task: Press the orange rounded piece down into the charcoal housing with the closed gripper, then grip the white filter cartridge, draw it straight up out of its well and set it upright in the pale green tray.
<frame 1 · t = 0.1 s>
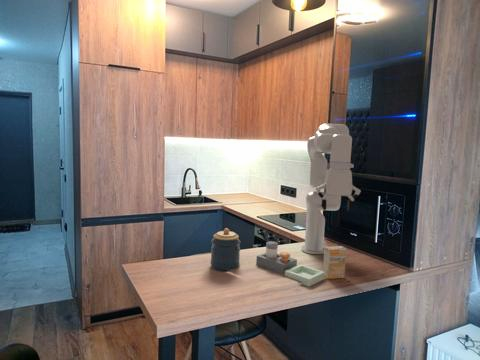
hand: (336, 209, 142), 31 cm above the countertop, tool pointing down, fingers open, 9 cm apart
supplement box: (333, 277, 155), on the countertop
housing: (276, 268, 162), on the countertop
cartridge: (270, 264, 164), point 1 cm above the countertop, touching housing
tray: (304, 278, 152), on the countertop
orange rounded piece: (284, 259, 158), point 5 cm above the countertop, slide at 0.0 cm
canister: (224, 267, 161), on the countertop
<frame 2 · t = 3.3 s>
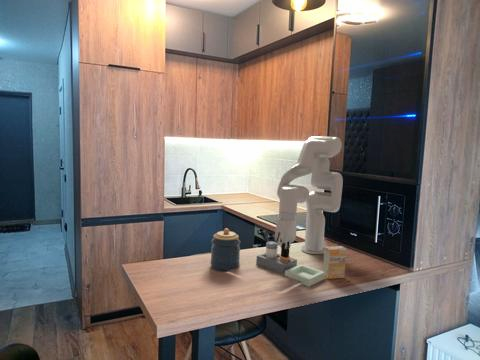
hand: (284, 256, 158), 7 cm above the countertop, tool pointing down, fingers closed
orange rounded piece: (284, 261, 158), point 4 cm above the countertop, slide at 1.1 cm, touching gripper
everything else where it was.
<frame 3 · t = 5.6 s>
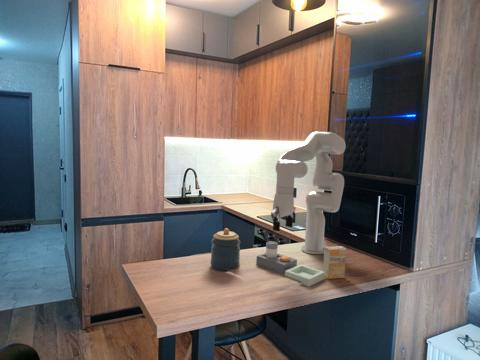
hand: (282, 228, 158), 19 cm above the countertop, tool pointing down, fingers open, 9 cm apart
orange rounded piece: (284, 263, 158), point 4 cm above the countertop, slide at 1.7 cm
everything else where it was.
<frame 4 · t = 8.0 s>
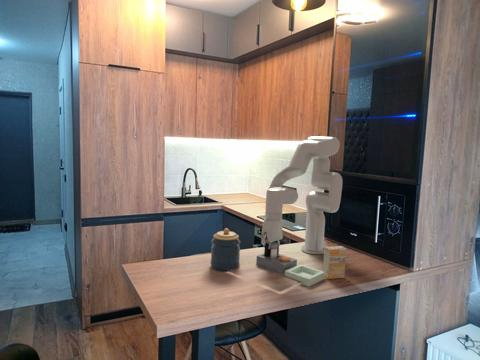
hand: (271, 254, 163), 5 cm above the countertop, tool pointing down, fingers closed on cartridge, 5 cm apart
cartridge: (270, 264, 164), point 1 cm above the countertop, touching gripper, housing
everything else where it was.
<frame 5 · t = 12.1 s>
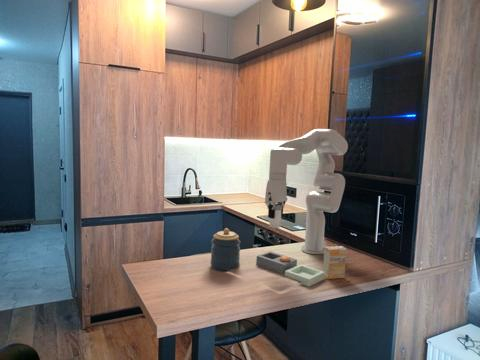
hand: (275, 216, 160), 23 cm above the countertop, tool pointing down, fingers closed on cartridge, 5 cm apart
cartridge: (274, 226, 161), point 19 cm above the countertop, touching gripper
everything else where it was.
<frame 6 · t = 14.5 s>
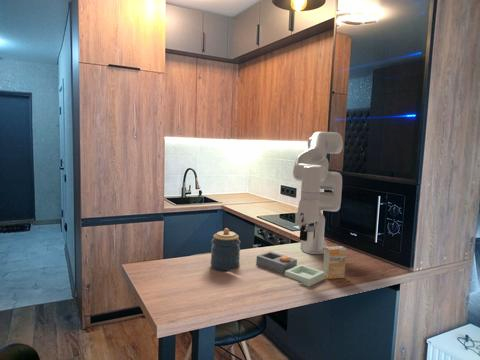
hand: (307, 238, 149), 17 cm above the countertop, tool pointing down, fingers closed on cartridge, 5 cm apart
cartridge: (306, 249, 150), point 13 cm above the countertop, touching gripper
everything else where it was.
when the fingers open (7 cm above the countertop, at t = 16.6 s): cartridge drops 2 cm, resting on tray.
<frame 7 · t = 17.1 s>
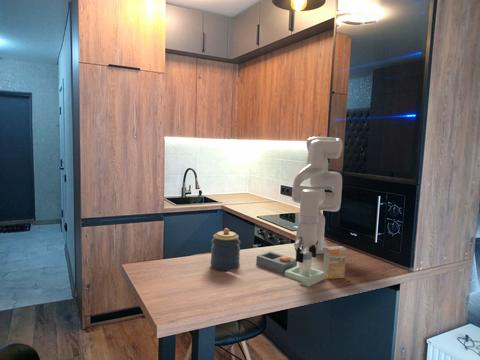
hand: (305, 259, 151), 8 cm above the countertop, tool pointing down, fingers open, 9 cm apart
cartridge: (304, 275, 152), point 1 cm above the countertop, touching tray
everything else where it was.
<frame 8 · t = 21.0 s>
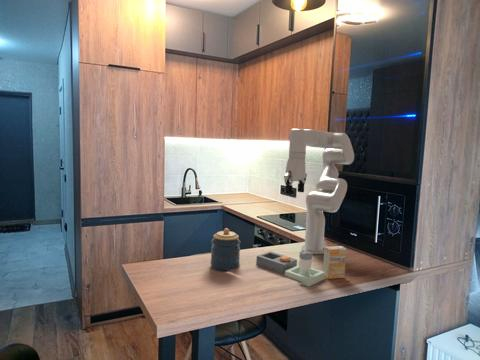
hand: (294, 192, 167), 33 cm above the countertop, tool pointing down, fingers open, 9 cm apart
nothing on the countertop moved.
at the end: orange rounded piece slide at 1.7 cm; cartridge inside the target area on the tray (0.1 cm from its centre), point 1.0 cm above the tray's base; cartridge tilted 0° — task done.
